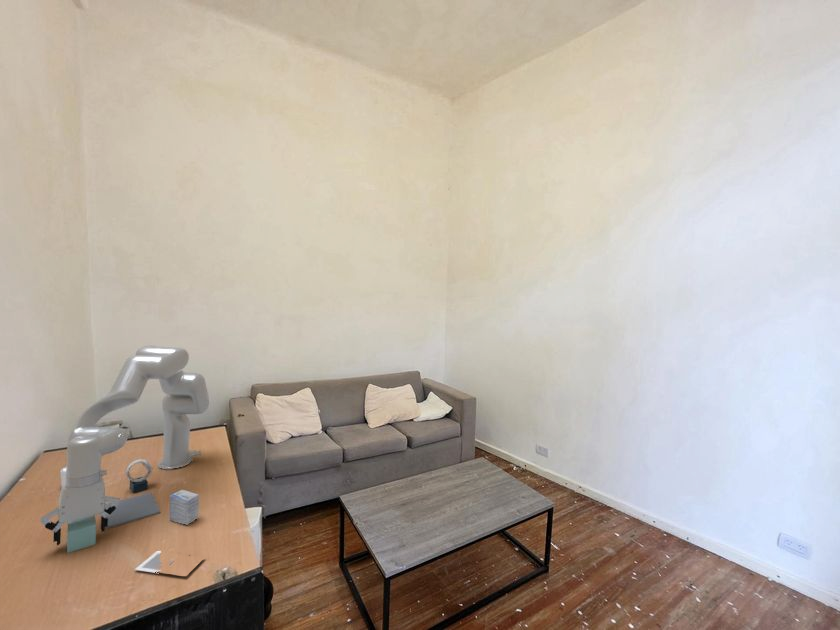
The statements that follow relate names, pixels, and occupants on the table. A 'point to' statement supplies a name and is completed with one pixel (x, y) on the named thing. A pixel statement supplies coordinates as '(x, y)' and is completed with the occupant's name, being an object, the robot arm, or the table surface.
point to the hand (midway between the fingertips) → (81, 536)
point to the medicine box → (184, 506)
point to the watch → (140, 482)
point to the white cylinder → (63, 476)
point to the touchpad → (152, 563)
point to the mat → (132, 509)
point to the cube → (81, 533)
